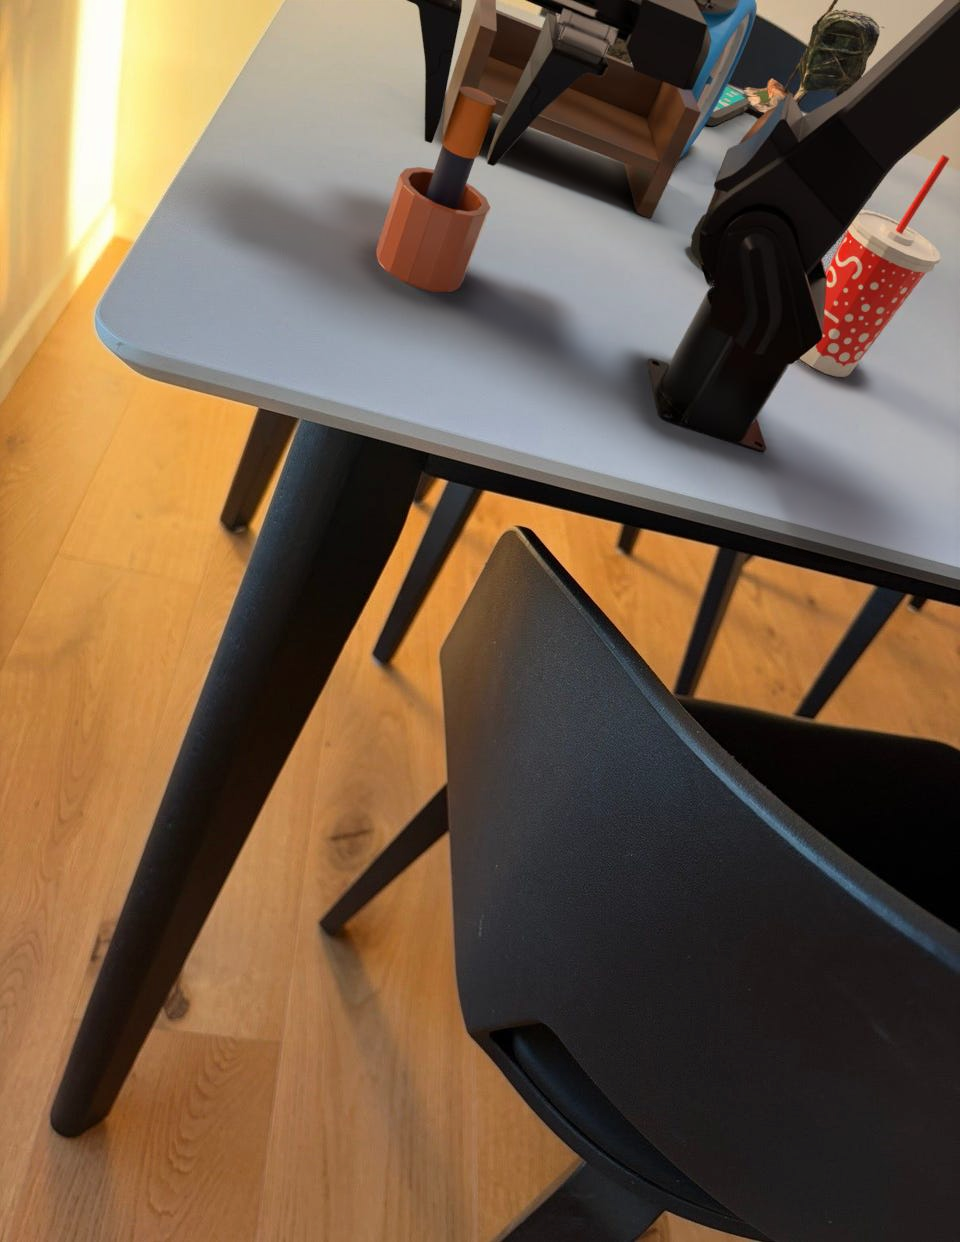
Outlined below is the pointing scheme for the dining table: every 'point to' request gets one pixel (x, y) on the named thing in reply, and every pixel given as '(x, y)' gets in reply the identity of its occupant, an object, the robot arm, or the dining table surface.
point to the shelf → (583, 103)
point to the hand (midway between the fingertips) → (459, 151)
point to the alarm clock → (720, 53)
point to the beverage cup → (870, 283)
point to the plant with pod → (826, 58)
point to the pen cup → (430, 234)
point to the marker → (460, 146)
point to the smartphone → (728, 106)
